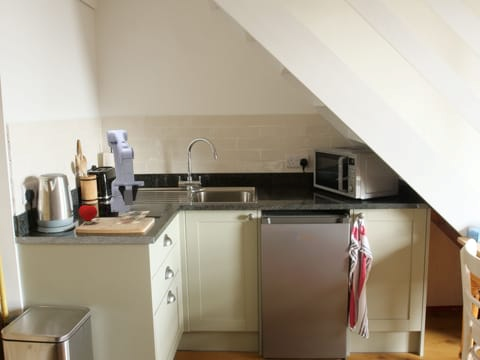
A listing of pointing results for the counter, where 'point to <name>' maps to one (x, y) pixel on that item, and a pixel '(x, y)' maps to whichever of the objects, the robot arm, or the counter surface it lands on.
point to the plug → (128, 197)
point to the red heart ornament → (88, 213)
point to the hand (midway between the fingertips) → (129, 201)
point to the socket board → (131, 217)
